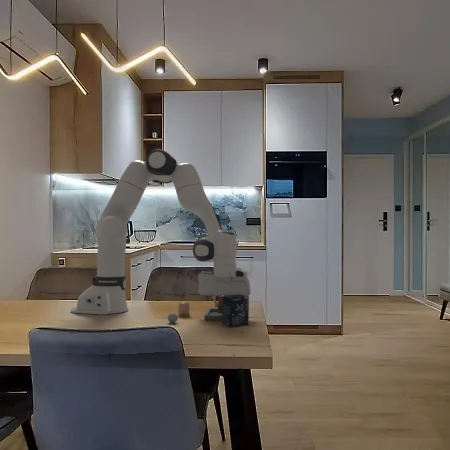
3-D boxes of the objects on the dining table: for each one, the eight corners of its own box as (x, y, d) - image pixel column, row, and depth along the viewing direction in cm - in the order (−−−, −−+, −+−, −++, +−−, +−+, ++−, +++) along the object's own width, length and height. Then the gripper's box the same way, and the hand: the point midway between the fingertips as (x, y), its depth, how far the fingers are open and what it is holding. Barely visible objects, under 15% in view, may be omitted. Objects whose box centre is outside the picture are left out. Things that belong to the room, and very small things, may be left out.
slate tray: (204, 320, 194) (204, 315, 194) (208, 312, 210) (208, 308, 210) (241, 321, 193) (241, 316, 193) (243, 313, 209) (243, 308, 209)
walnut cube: (218, 313, 199) (218, 297, 199) (218, 311, 204) (219, 296, 203) (229, 313, 199) (229, 298, 199) (230, 311, 203) (230, 296, 203)
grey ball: (166, 323, 187) (166, 313, 187) (168, 321, 190) (168, 311, 190) (176, 323, 186) (176, 313, 186) (178, 321, 190) (178, 312, 190)
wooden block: (177, 316, 201) (177, 303, 201) (179, 314, 206) (179, 301, 205) (188, 316, 201) (188, 303, 201) (190, 314, 205) (190, 301, 205)
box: (231, 327, 181) (231, 297, 181) (222, 324, 186) (222, 295, 186) (249, 325, 186) (249, 295, 186) (240, 322, 190) (240, 293, 190)
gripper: (197, 271, 199) (196, 307, 199) (250, 273, 197) (250, 309, 197) (199, 270, 205) (198, 305, 205) (250, 271, 204) (250, 306, 204)
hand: (224, 307), depth 201 cm, fingers closed on walnut cube, 4 cm apart
